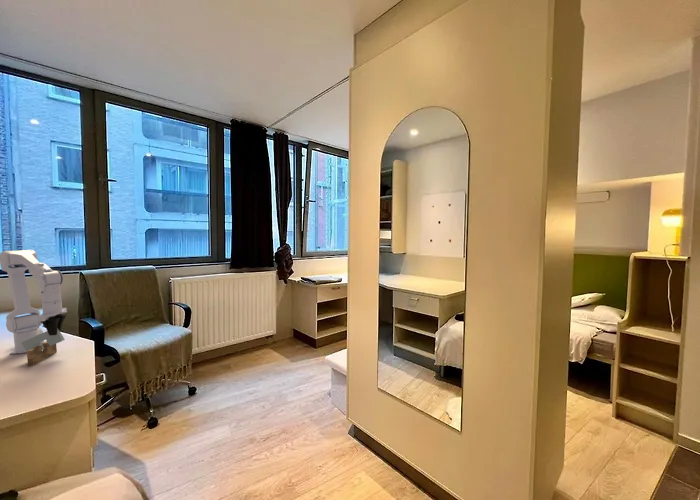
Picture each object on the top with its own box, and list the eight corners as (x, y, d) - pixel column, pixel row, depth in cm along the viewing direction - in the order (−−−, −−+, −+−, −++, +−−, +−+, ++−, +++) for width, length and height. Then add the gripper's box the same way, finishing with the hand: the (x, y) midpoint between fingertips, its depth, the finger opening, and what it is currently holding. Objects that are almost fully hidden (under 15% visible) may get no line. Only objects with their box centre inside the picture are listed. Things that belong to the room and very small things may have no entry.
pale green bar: (32, 353, 122) (23, 340, 121) (64, 339, 125) (57, 326, 124) (29, 355, 121) (20, 342, 120) (62, 340, 124) (54, 328, 123)
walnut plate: (52, 352, 129) (51, 339, 129) (56, 352, 130) (55, 338, 129) (28, 366, 116) (26, 351, 116) (33, 365, 116) (31, 350, 116)
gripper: (52, 304, 117) (55, 338, 118) (74, 296, 131) (77, 327, 132) (29, 306, 115) (32, 341, 116) (54, 298, 129) (57, 329, 130)
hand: (54, 334), depth 124 cm, fingers closed on pale green bar, 2 cm apart
